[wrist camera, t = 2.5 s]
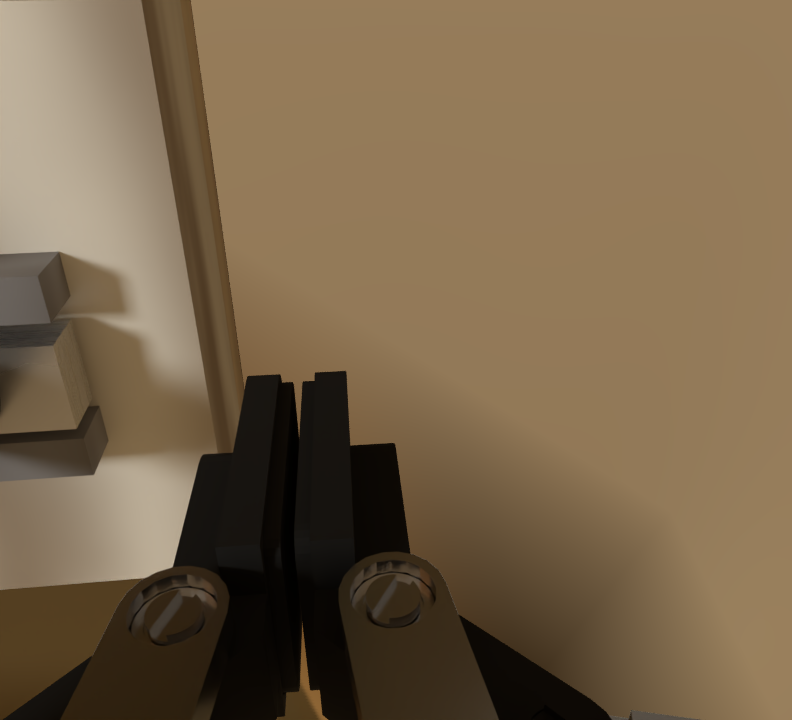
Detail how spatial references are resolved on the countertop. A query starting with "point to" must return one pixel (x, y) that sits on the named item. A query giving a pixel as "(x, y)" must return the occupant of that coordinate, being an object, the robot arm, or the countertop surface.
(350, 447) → the robot arm
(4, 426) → the bolt
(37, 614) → the countertop surface
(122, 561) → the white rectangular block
